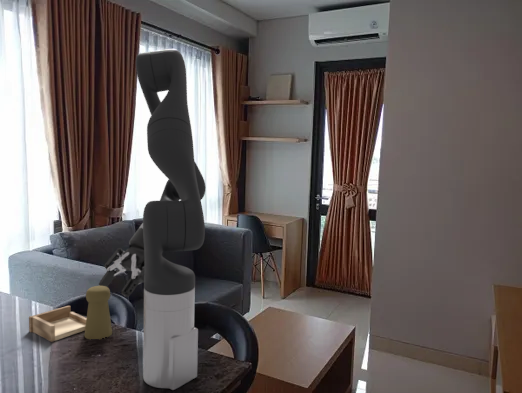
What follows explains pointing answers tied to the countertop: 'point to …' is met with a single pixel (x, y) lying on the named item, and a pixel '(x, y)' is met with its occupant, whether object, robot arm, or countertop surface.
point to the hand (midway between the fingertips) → (112, 291)
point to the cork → (98, 313)
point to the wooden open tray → (57, 323)
